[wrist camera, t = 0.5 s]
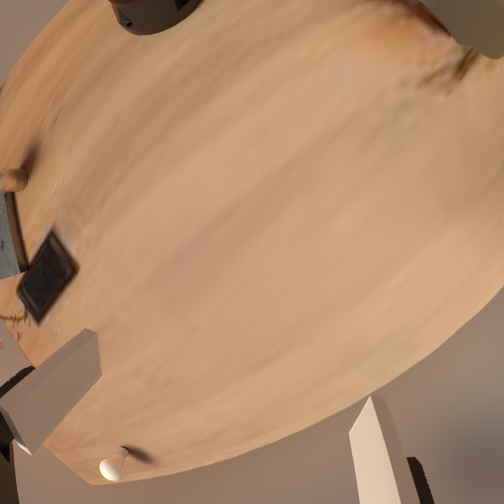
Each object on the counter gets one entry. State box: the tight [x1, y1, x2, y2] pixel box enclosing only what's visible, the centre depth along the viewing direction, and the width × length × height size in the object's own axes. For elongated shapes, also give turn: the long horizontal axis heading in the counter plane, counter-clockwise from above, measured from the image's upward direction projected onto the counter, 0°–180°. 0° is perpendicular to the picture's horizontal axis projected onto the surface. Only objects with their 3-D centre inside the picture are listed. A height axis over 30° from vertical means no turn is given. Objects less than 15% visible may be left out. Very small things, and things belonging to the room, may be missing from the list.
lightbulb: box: [99, 447, 128, 481], centre depth 49 cm, size 6×6×11 cm
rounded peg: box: [0, 168, 27, 193], centre depth 37 cm, size 5×5×11 cm
